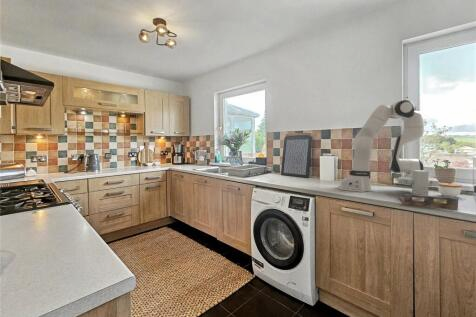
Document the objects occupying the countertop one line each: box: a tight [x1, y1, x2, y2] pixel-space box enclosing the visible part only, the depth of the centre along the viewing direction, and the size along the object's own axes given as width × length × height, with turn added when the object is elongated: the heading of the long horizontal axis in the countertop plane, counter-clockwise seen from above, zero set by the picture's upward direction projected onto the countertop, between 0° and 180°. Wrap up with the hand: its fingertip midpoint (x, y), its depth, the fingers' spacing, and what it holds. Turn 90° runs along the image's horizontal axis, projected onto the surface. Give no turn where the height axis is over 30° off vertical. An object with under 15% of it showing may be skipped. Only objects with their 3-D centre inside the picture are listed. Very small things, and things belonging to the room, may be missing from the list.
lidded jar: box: [437, 181, 462, 198], centre depth 141 cm, size 11×11×9 cm
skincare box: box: [411, 169, 430, 196], centre depth 135 cm, size 8×6×15 cm
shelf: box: [398, 193, 459, 210], centre depth 123 cm, size 22×14×6 cm, turn 63°
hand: (420, 183), depth 135 cm, fingers closed on skincare box, 6 cm apart
